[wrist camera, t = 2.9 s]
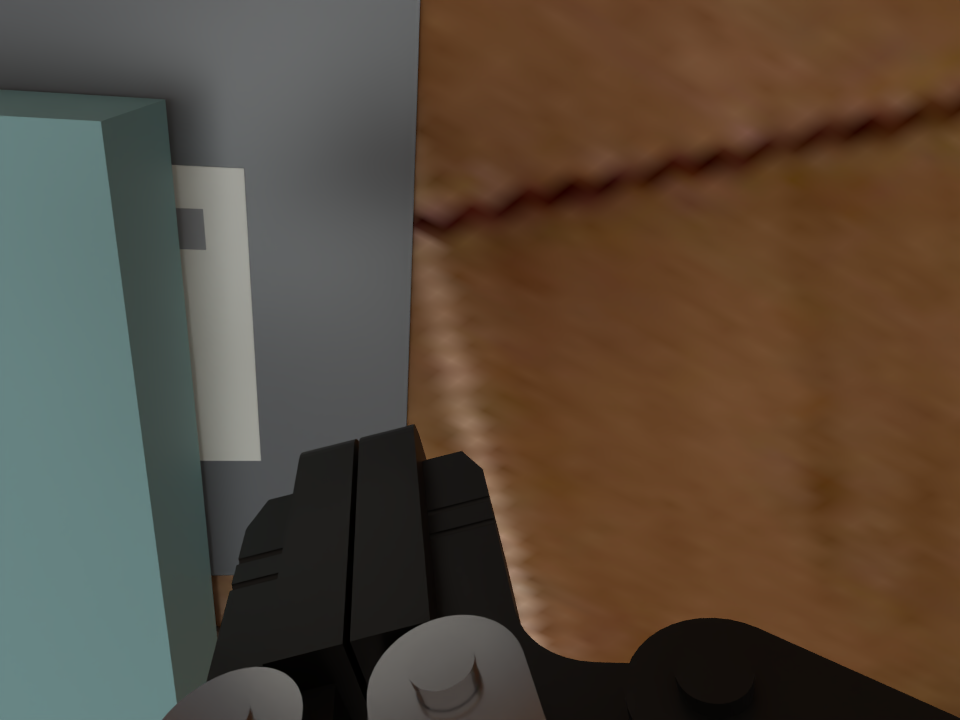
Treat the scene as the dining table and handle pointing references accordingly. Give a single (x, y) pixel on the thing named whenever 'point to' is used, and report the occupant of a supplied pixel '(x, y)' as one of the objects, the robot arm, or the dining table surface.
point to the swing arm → (96, 418)
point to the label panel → (265, 210)
